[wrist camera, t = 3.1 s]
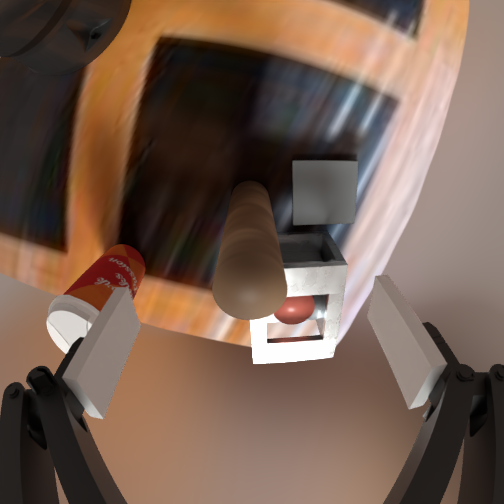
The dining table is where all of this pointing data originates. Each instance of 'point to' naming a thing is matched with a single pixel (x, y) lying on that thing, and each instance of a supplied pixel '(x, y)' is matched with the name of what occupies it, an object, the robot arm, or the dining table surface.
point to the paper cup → (93, 294)
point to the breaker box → (303, 284)
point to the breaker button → (295, 309)
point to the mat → (324, 191)
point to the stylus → (250, 257)
